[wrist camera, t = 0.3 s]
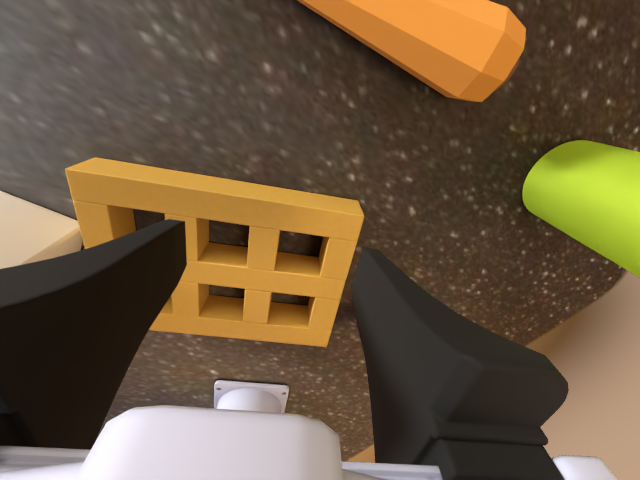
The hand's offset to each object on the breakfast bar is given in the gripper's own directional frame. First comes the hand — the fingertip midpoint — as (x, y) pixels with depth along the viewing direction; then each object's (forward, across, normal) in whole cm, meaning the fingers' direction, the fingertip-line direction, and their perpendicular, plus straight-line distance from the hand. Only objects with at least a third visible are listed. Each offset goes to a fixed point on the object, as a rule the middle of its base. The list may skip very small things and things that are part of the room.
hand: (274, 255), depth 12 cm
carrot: (+10, -1, -11) cm, 15 cm away
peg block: (+10, +4, +7) cm, 13 cm away
